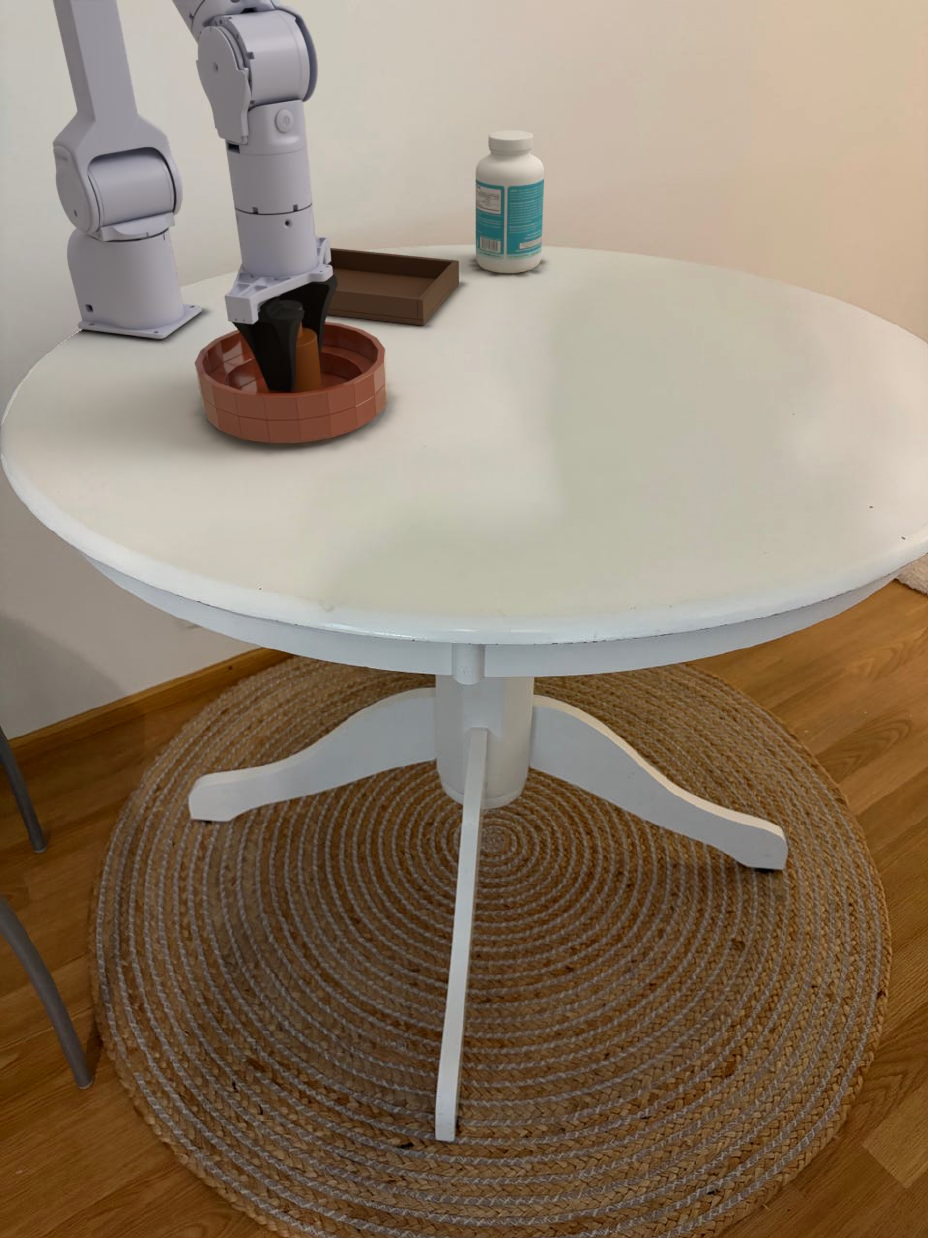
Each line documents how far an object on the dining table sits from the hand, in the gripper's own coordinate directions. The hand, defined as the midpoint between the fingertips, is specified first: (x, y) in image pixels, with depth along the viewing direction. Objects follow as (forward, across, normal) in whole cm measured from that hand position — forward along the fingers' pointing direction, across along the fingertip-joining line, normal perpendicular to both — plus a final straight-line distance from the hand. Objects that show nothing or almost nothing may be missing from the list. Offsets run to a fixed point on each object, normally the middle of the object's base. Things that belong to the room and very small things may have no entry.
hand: (293, 377), depth 79 cm
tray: (+3, +26, +3) cm, 26 cm away
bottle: (+2, 0, 0) cm, 2 cm away
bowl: (+3, 0, 0) cm, 3 cm away
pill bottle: (+3, +40, -8) cm, 41 cm away
